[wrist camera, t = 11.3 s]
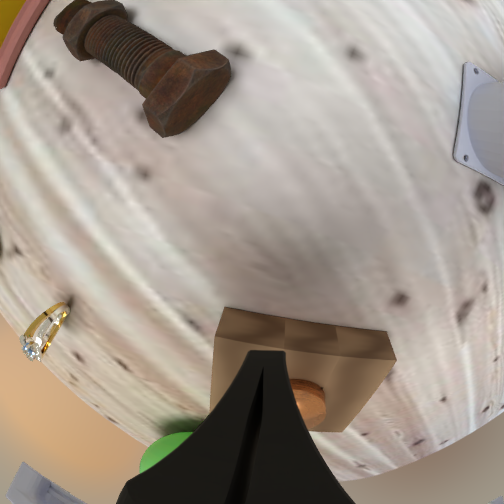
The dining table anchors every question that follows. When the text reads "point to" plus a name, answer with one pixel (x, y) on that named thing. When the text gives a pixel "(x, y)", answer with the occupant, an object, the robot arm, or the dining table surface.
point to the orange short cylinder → (309, 401)
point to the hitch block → (306, 359)
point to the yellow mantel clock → (15, 30)
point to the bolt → (145, 63)
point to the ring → (43, 331)
